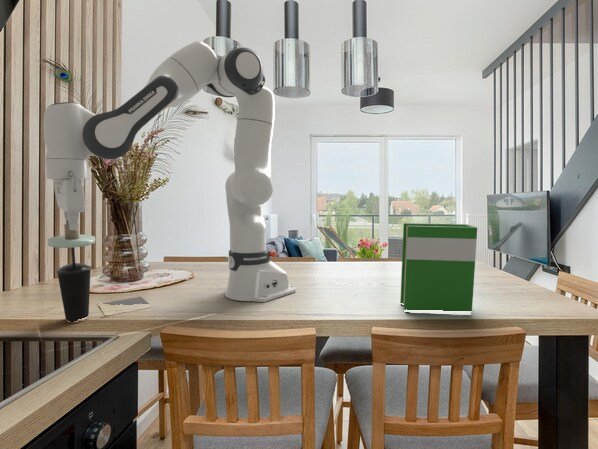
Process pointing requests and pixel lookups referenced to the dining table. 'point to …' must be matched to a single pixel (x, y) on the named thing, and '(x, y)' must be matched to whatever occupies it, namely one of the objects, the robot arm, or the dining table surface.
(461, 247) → the hardback book
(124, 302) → the mat
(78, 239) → the lid
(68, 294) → the drinking cup
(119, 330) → the dining table surface
